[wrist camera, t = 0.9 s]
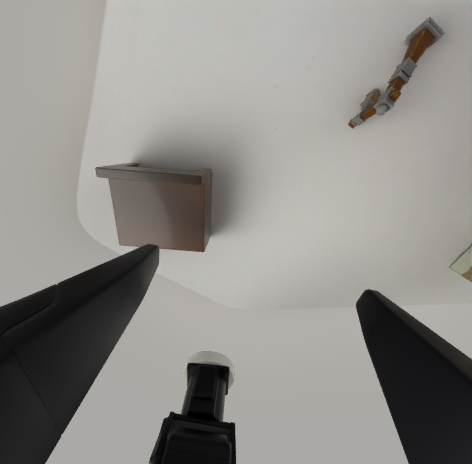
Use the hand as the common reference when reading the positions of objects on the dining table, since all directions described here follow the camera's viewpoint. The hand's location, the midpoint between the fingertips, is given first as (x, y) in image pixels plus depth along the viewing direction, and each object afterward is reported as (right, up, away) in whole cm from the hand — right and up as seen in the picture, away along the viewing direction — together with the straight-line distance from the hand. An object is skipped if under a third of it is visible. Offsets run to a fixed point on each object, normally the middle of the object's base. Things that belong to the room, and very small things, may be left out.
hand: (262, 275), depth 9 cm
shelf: (-8, +5, +15) cm, 18 cm away
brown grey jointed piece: (+12, +15, +10) cm, 22 cm away
